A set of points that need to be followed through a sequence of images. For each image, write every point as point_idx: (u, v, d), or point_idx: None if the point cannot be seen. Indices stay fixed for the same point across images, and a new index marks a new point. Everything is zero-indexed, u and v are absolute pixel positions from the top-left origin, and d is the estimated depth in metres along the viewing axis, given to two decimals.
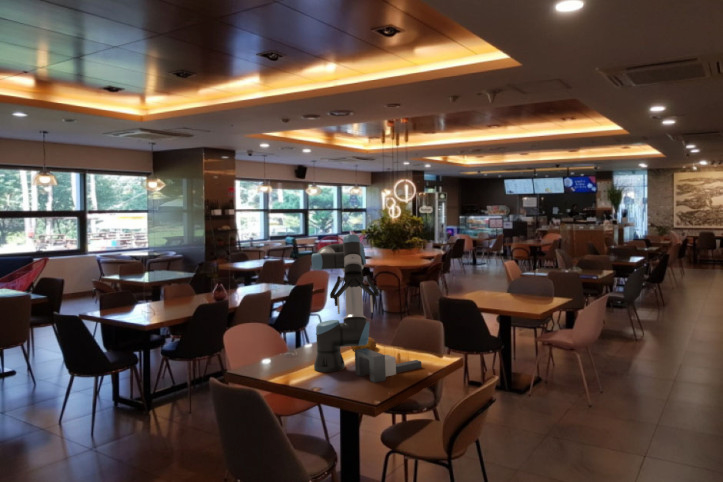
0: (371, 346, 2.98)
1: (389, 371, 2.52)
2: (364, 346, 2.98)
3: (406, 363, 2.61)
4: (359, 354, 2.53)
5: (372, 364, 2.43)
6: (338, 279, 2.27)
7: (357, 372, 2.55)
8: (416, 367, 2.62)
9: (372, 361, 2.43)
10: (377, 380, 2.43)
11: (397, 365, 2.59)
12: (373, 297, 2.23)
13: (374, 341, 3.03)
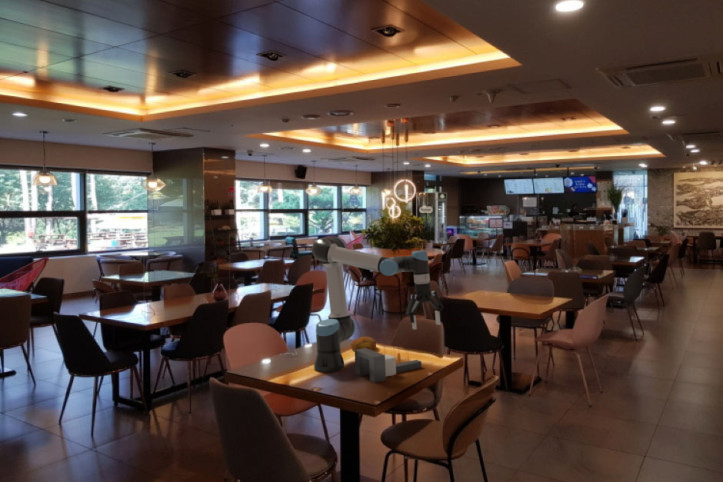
0: (371, 346, 2.98)
1: (389, 371, 2.52)
2: (364, 346, 2.98)
3: (406, 363, 2.61)
4: (359, 354, 2.53)
5: (372, 364, 2.43)
6: (413, 298, 2.56)
7: (357, 372, 2.55)
8: (416, 367, 2.62)
9: (372, 361, 2.43)
10: (377, 380, 2.43)
11: (397, 365, 2.59)
12: (439, 312, 2.63)
13: (374, 341, 3.03)
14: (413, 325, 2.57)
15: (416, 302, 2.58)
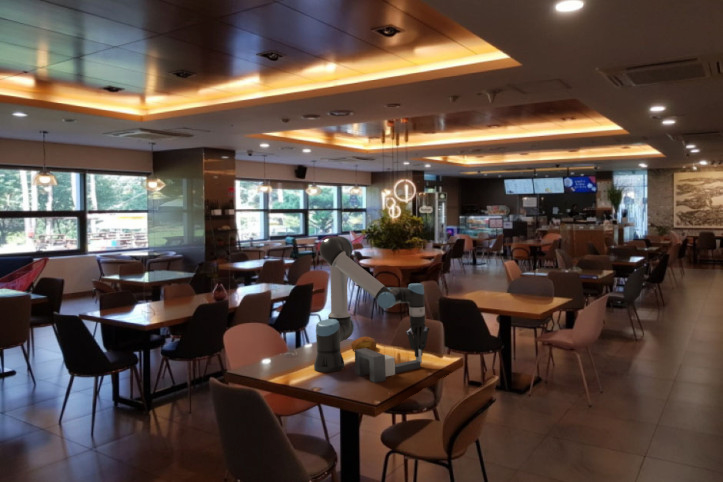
0: (371, 347, 2.98)
1: (388, 371, 2.52)
2: (364, 346, 2.97)
3: (405, 363, 2.60)
4: (359, 354, 2.53)
5: (372, 364, 2.43)
6: (410, 334, 2.61)
7: (357, 372, 2.55)
8: (415, 367, 2.62)
9: (372, 361, 2.43)
10: (377, 380, 2.43)
11: (396, 365, 2.58)
12: (421, 351, 2.65)
13: (374, 341, 3.03)
14: (417, 359, 2.65)
15: (414, 336, 2.64)
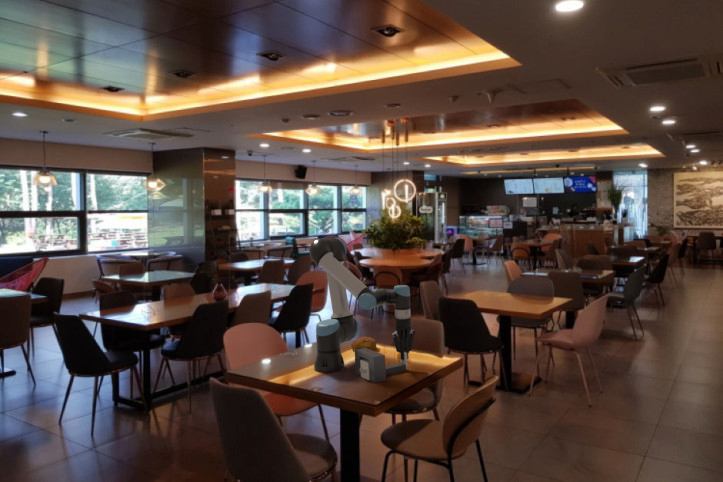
0: (371, 347, 2.98)
1: None
2: (364, 346, 2.97)
3: (390, 366, 2.56)
4: (359, 354, 2.53)
5: (372, 364, 2.43)
6: (396, 337, 2.57)
7: (357, 372, 2.55)
8: (401, 370, 2.57)
9: (372, 361, 2.43)
10: (377, 380, 2.43)
11: None
12: (407, 354, 2.61)
13: (374, 341, 3.02)
14: (403, 362, 2.61)
15: (400, 338, 2.60)
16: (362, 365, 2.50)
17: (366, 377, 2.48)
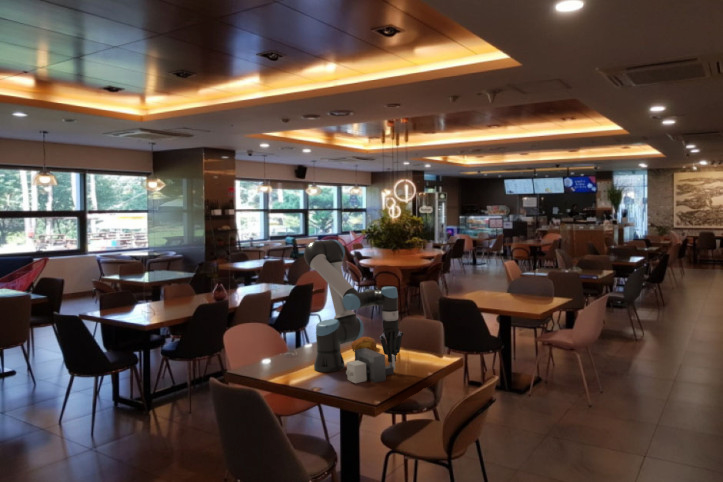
0: (371, 347, 2.98)
1: (359, 377, 2.44)
2: (364, 346, 2.97)
3: None
4: (359, 354, 2.53)
5: (372, 364, 2.43)
6: (383, 339, 2.53)
7: None
8: (388, 373, 2.54)
9: (372, 361, 2.43)
10: (377, 380, 2.43)
11: (368, 371, 2.50)
12: (395, 356, 2.57)
13: (374, 341, 3.02)
14: (390, 365, 2.57)
15: (387, 341, 2.56)
16: (349, 368, 2.47)
17: (352, 380, 2.45)
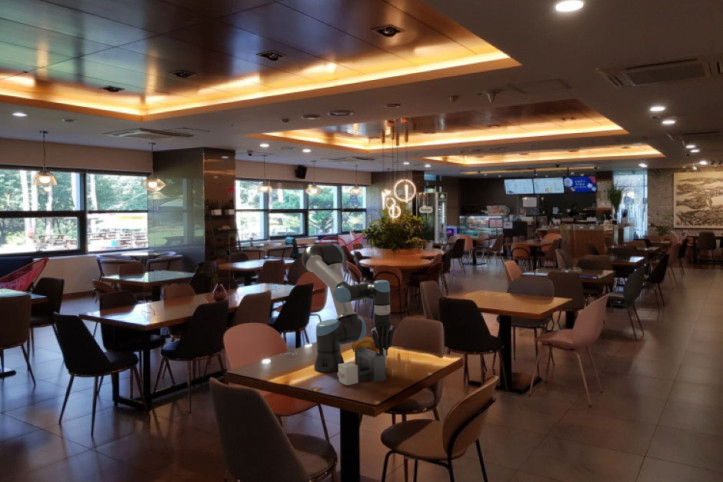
0: (371, 347, 2.97)
1: (350, 379, 2.41)
2: (364, 346, 2.97)
3: (369, 371, 2.50)
4: (359, 354, 2.53)
5: (372, 364, 2.43)
6: (374, 333, 2.51)
7: None
8: None
9: (372, 361, 2.43)
10: (377, 380, 2.43)
11: (360, 373, 2.48)
12: (386, 350, 2.55)
13: None
14: None
15: (379, 335, 2.54)
16: (340, 370, 2.45)
17: (343, 382, 2.42)
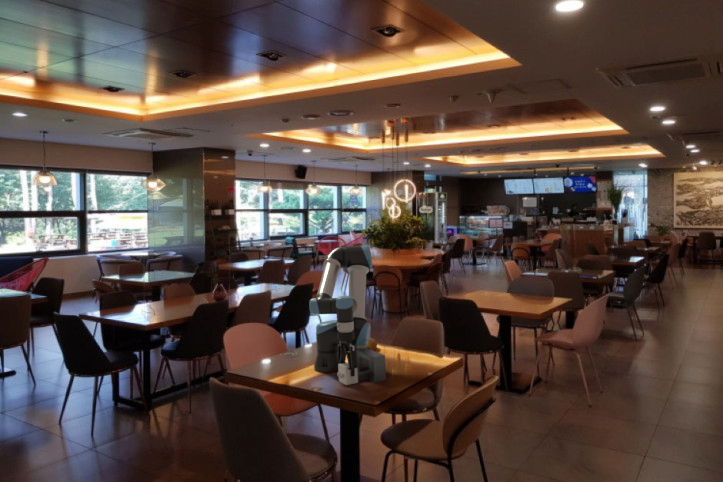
0: (372, 347, 2.97)
1: None
2: None
3: (369, 371, 2.50)
4: (359, 354, 2.53)
5: (372, 364, 2.43)
6: (337, 345, 2.49)
7: None
8: None
9: (372, 361, 2.43)
10: (377, 380, 2.43)
11: (360, 373, 2.48)
12: (351, 371, 2.40)
13: (375, 341, 3.02)
14: None
15: None
16: (340, 369, 2.45)
17: (343, 382, 2.42)
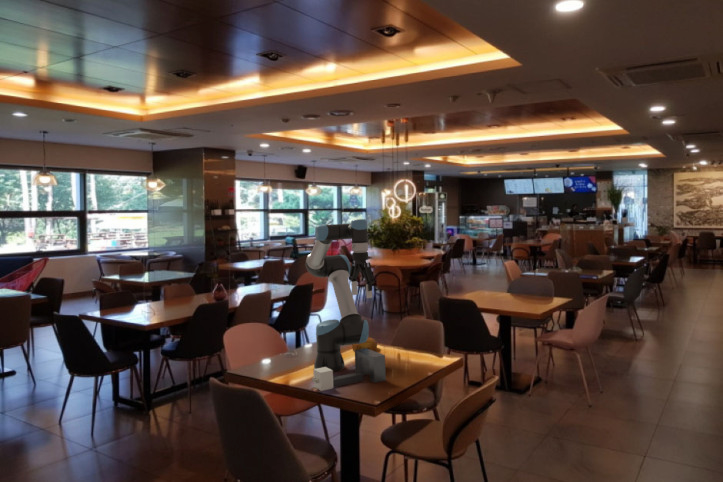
0: (372, 347, 2.96)
1: (325, 385, 2.35)
2: (365, 347, 2.96)
3: (346, 376, 2.44)
4: (359, 354, 2.53)
5: (372, 364, 2.43)
6: (351, 264, 2.62)
7: None
8: (357, 380, 2.45)
9: (372, 361, 2.43)
10: (377, 380, 2.43)
11: (336, 378, 2.42)
12: (368, 285, 2.50)
13: (375, 342, 3.01)
14: None
15: None
16: (315, 375, 2.38)
17: (318, 387, 2.36)
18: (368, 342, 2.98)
